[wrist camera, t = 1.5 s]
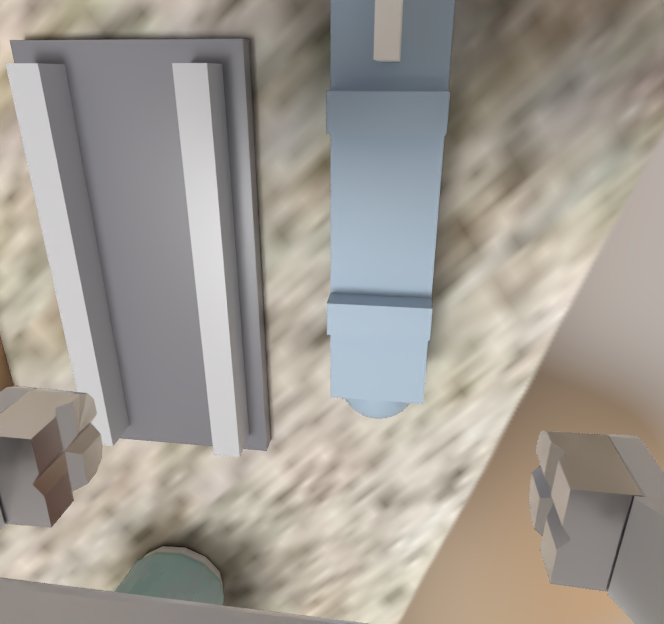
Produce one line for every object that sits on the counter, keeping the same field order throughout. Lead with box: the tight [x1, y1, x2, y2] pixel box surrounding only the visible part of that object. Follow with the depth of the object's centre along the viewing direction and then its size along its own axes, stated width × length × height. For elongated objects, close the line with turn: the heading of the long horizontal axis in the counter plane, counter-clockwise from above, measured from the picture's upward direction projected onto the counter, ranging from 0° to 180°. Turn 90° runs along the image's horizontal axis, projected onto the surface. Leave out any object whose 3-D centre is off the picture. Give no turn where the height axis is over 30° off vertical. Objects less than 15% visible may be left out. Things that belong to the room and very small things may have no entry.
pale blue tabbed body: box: [326, 0, 455, 419], centre depth 24 cm, size 20×4×8 cm, turn 0°
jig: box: [5, 39, 271, 457], centre depth 28 cm, size 22×11×3 cm, turn 0°
